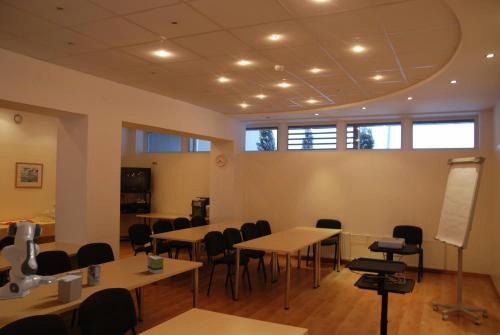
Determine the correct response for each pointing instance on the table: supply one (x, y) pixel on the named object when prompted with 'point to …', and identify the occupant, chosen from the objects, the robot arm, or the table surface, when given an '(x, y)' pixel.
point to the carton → (69, 290)
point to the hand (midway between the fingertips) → (49, 276)
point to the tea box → (155, 264)
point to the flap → (68, 278)
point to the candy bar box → (76, 274)
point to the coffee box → (93, 275)
